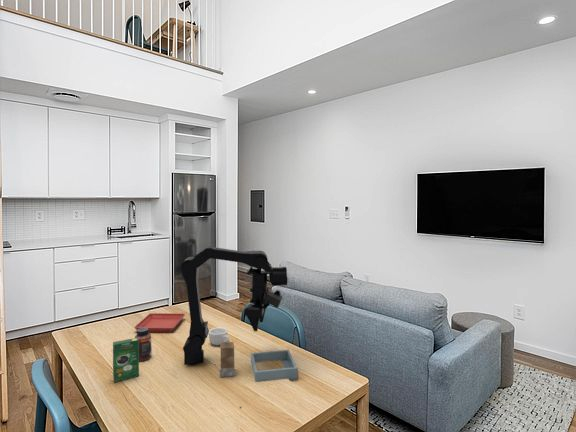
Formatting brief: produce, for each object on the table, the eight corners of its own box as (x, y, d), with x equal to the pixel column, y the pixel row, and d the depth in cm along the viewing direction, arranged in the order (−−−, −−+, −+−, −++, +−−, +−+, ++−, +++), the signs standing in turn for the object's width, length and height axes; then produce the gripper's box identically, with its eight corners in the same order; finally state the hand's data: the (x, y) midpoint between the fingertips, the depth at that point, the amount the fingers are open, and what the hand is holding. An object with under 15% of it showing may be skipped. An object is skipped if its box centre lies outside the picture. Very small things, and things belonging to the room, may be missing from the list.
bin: (255, 384, 119) (255, 372, 119) (250, 363, 133) (250, 353, 133) (297, 379, 122) (297, 368, 122) (288, 359, 136) (288, 349, 136)
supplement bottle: (155, 356, 139) (154, 327, 138) (143, 363, 134) (142, 333, 133) (143, 353, 142) (143, 325, 141) (131, 359, 136) (130, 330, 135)
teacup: (205, 344, 150) (204, 331, 150) (218, 338, 157) (218, 325, 156) (221, 350, 144) (221, 337, 144) (235, 343, 151) (235, 331, 150)
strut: (221, 377, 122) (220, 348, 121) (220, 370, 126) (220, 343, 125) (234, 375, 123) (234, 347, 122) (233, 369, 127) (233, 341, 126)
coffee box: (138, 372, 127) (137, 336, 126) (140, 376, 124) (138, 339, 124) (113, 379, 122) (111, 341, 122) (114, 382, 120) (113, 344, 119)
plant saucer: (173, 334, 161) (173, 327, 161) (133, 334, 162) (133, 327, 161) (185, 319, 179) (185, 313, 179) (149, 319, 180) (149, 313, 179)
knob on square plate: (219, 380, 121) (219, 371, 121) (219, 372, 127) (219, 363, 126) (235, 379, 122) (235, 369, 122) (234, 371, 128) (234, 362, 127)
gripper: (276, 293, 123) (275, 338, 124) (284, 280, 141) (283, 319, 142) (244, 291, 124) (243, 335, 125) (257, 278, 143) (256, 317, 144)
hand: (258, 326), depth 134 cm, fingers open, 9 cm apart
